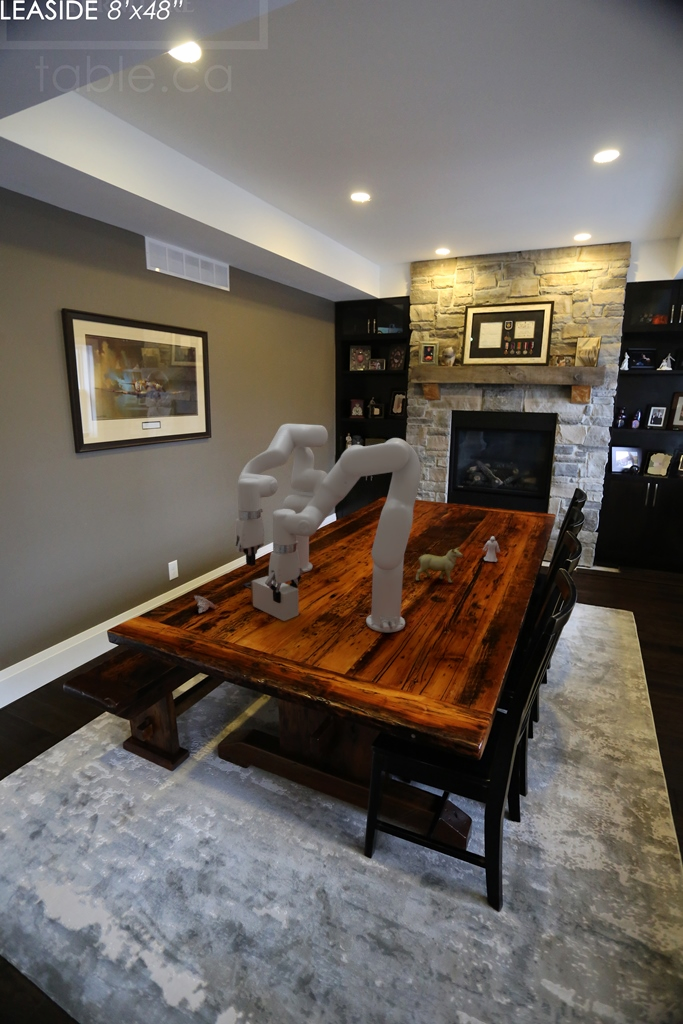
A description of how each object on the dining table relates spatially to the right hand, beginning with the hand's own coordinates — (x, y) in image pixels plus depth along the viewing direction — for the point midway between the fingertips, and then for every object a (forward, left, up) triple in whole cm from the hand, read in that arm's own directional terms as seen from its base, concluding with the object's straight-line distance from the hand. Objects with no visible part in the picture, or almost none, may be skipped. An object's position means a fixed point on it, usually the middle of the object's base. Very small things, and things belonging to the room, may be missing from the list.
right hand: (285, 598), depth 166 cm
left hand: (+13, +12, +7) cm, 20 cm away
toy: (+29, -60, -6) cm, 66 cm away
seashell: (+5, +27, -6) cm, 28 cm away
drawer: (+8, +7, -5) cm, 12 cm away
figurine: (+52, -90, -6) cm, 104 cm away
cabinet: (+4, +4, -6) cm, 8 cm away
